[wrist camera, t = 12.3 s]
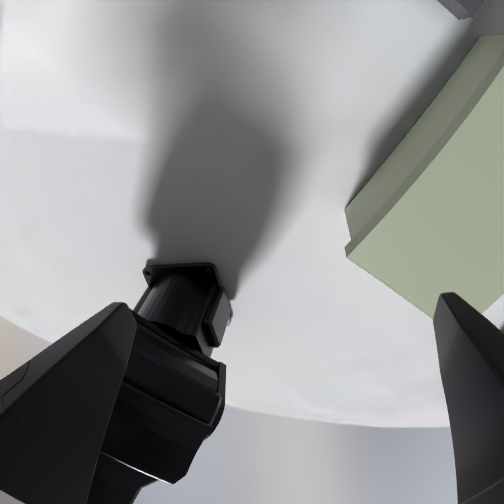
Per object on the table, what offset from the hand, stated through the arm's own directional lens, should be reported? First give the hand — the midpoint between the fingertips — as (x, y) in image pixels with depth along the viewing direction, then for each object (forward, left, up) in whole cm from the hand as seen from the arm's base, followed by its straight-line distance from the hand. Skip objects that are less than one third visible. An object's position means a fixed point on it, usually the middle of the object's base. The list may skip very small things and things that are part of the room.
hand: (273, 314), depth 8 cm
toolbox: (+12, -1, -13) cm, 18 cm away
